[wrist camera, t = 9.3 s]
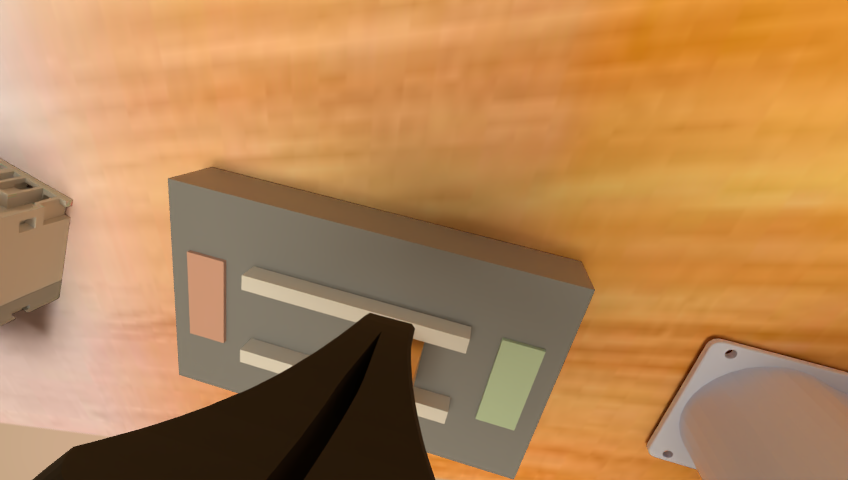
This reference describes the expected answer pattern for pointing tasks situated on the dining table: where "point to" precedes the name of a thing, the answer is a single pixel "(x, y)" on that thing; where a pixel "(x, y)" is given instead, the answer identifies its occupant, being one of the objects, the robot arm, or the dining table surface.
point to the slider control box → (372, 304)
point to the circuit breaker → (30, 242)
